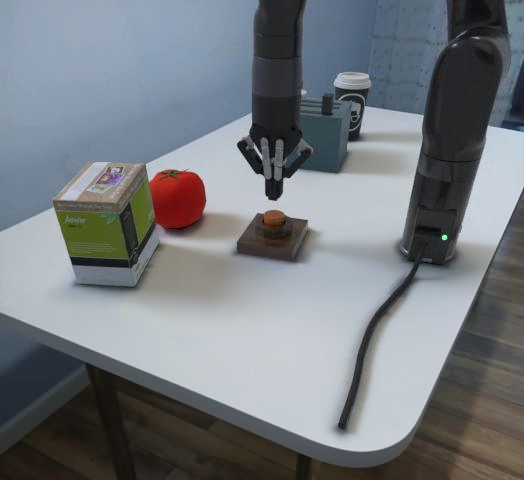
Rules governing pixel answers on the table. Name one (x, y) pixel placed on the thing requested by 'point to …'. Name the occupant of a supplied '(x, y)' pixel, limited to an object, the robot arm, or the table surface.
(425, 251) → the robot arm
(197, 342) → the table surface
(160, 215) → the tomato
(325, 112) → the slider
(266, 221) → the button
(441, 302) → the table surface
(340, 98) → the coffee cup
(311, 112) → the toaster
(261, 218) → the block
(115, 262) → the tea box
